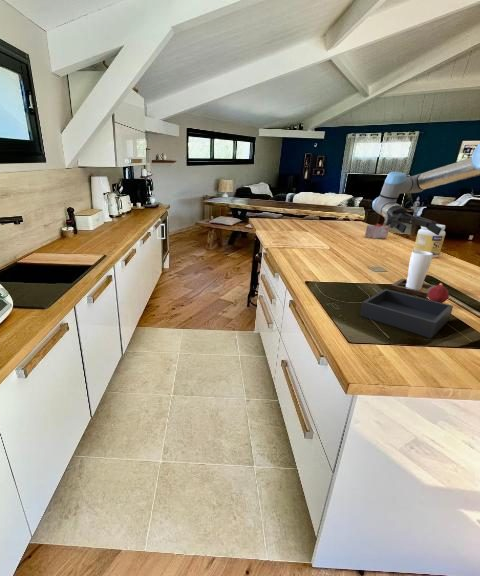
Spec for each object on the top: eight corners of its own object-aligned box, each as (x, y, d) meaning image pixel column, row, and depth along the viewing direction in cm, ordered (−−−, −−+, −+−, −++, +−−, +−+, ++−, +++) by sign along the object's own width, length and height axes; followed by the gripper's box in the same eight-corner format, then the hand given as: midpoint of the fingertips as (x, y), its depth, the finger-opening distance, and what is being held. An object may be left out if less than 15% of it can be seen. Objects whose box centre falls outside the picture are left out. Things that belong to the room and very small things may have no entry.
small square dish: (436, 289, 125) (437, 285, 125) (426, 297, 118) (427, 293, 117) (401, 281, 134) (402, 278, 134) (390, 288, 127) (390, 284, 126)
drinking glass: (402, 285, 130) (410, 249, 125) (421, 287, 128) (431, 251, 122) (404, 290, 125) (413, 253, 119) (424, 292, 122) (434, 255, 117)
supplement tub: (430, 259, 165) (438, 227, 159) (407, 254, 176) (414, 224, 170) (444, 256, 170) (453, 225, 164) (421, 251, 181) (428, 222, 175)
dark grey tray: (449, 320, 100) (453, 305, 98) (431, 338, 90) (436, 323, 88) (381, 301, 115) (384, 288, 113) (359, 315, 104) (362, 301, 102)
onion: (449, 308, 108) (455, 286, 106) (430, 307, 109) (436, 285, 107) (439, 301, 114) (446, 281, 111) (422, 300, 115) (428, 280, 112)
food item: (386, 237, 218) (389, 223, 215) (386, 239, 212) (389, 225, 208) (364, 235, 225) (367, 222, 221) (364, 237, 218) (366, 223, 215)
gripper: (419, 223, 143) (449, 241, 125) (364, 219, 143) (386, 237, 125) (426, 206, 139) (458, 223, 121) (369, 203, 139) (393, 219, 121)
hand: (421, 230), depth 123 cm, fingers open, 13 cm apart
